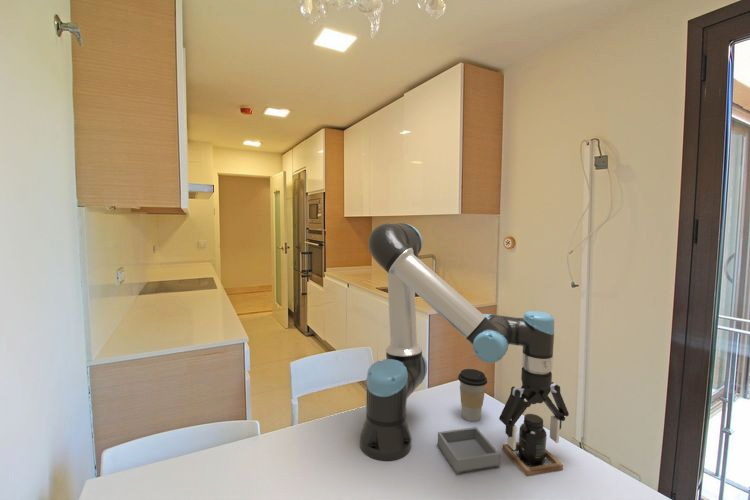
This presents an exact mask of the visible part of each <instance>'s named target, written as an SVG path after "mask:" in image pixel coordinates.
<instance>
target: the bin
mask: <svg viewBox="0 0 750 500" xmlns="http://www.w3.org/2000/svg"><path fill="white" fill-rule="evenodd" d="M437 447H438V448H439V450H440V451H441V453H442V455H443V456H444V457H445V460H446V462H448V463H449V466H450V467H451V468H452V470H453V471H454V473H455V474H456V476H458V475H464V474H470V473H477V472H482V471H488V470H494V469H495V470H496V469H499V468H500V459H501V458H500V457H501V453H500V451H498V450H497V449H496V447H494V446H493V444H492V443H490V441H489V440H488V439H487V438H486V436H485V435H484V434H483V433H482V432H481V431H480V430H479V428H478V427H476V426H475V427H468V428H460V429H459V428H458V429H452V430H445V431H438V432H437Z"/></svg>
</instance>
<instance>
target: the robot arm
mask: <svg viewBox="0 0 750 500" xmlns="http://www.w3.org/2000/svg"><path fill="white" fill-rule="evenodd" d="M370 232H371V233H370V234H369V236H368V241H367V245H368V246H367V247H368V251H369V254H370V255H371V257H372V259H374V261H375V262H376V263H377V264H378V265H379V266H380V267H381V268H382V269H383V270H385V272H387V273H386V275H387V292H388V293H387V295H388V296H387V297H388V317H389V319H388V321H389V322H388V323H389V336H390V337H389V338H390V339H389V340H390V344H389V345H388V346H387V347H386V348H385V355H386V358H385V359H382V360H377V361H375V362H373V363H372V364H371V365H370V366H369V368H368V370H367V374H366V379H365V380H366V381H365V382H366V383H365V384H366V400H365V401H366V405H365V406H366V410H365V411H366V413H365V414H366V416H365V420H364V423H363V425H362V428H361V432H360V435H359V446H360V449H361V450H362V452H363V453H365V455H367V456H369V457H370V458H371V459H375V460H380V461H395V460H399V459H400V458H403V457H405V456H406V455H408V453H409V452H410V450H411V449H412V434H411V431H410V429H409V425H408V421H407V401H408V398H410V396H411V395H412V394H413V393H414V392H415V391H416V390H417V388H418V387H419V386H420V385H421V384H422V383H423V381H424V380H425V377H426V375H427V373H428V364H427V363H428V362H427V360H426V357H425V356H424V355H423V349H422V347H421V346H420V345H419V344H418V339H417V338H418V335H417V334H418V333H417V316H416V315H417V314H416V294H417V295H418V297H420V298H421V299H422V300H423V301H424V302H425V303H426V304H428V306H429V307H431V309H432V310H434V312H436V313H437V314H438V315H439V316H441V318H443V319H444V320H445V321H446V322H447V323H448V324H450V325H451V327H453V328H454V329H455V330H456V331H457V332H458V333H459V334H460V335H461V336H463V337H464V338H465V339H466V340H467V341H468V342H469V343H470V344H471V345H472V348H473V352H474V354H475V356H476V357H477V358H478V359H479V360H481V361H482V362H485V363H488V364H489V363H490V364H493V363H497V362H499V361H501V360H502V359H503V358H504V356H506V354H507V351H508V350H509V349H508V348H509V346H510V345H514V346H521V347H522V354H521V366H522V367H521V378H520V379H521V384H522V385H521V387H520V388H519V387H518V388H517V387H515V386H514V385H513V386H511V388H510V394H509V396H508V398H507V400H506V403H505V405H504V406H503V409H502V411H501V413H500V416H499V418H498V419H499V421H500V422H501V423H503V425H505V435H506V436H507V442H506V444H508V445H509V446H510V447H511V448H512V449H513V450H512V451H517V450H516V442H517V430H518V429H517V428H518V426H517V425H516V423H517V422H518V420H519V419H520V418H521V416H522V415H523V414H524V413H525V411H526V410H527V408H530V407H531V406H532V405H536V404H543V403H544V404H545V406H546V407H547V408H548V409H549V411H550V412H551V413H552V415H550V418H549V419H550V420H549V421H550V422H549V438H550V439H551V440H552V441H553V442H554V443H556V444H559V442H560V430H561V429H562V422H565V421H566V417H569V416H570V415H569V410H568V409H567V406H566V403H565V401H564V398H563V396H562V394H561V386H560V385H558V384H557V383H555V382H553V381H552V380H553V373H552V370H553V363H554V362H553V359H554V358H553V357H554V343H555V340H554V339H555V318H554V316H553V315H552V314H550V313H548V312H544V311H537V310H534V311H533V310H529V311H526V312H525V313H524V314H523V317H514V316H507V315H499V314H494V313H482V312H481V311H480V310H479V309H477V308H476V307H475V306H474V305H472V304H471V302H469V301H468V300H467V299H466V298H464V297H463V295H461V294H460V293H459V292H458V291H456V289H454V288H453V287H452V286H451V285H449V284H448V283H447V282H446V281H445V280H444V279H443V278H442V277H440V276H439V275H438V274H437V273H436V272H435V271H433V270H432V269H431V268H429V267H428V265H426V264H425V263H424V262H423V261H422V260H421V259H419V254H420V252H421V250H422V248H423V238H422V235H421V233H420V231H419V230H418V229H417V228H416V227H414V226H413V225H411V224H409V223H405V222H404V223H402V222H399V223H390V222H389V223H388V222H387V223H382V224H380V225H378V226H376V227H375V228H374V229H373V230H372V231H370ZM550 393H551V395H552V398H553V400H554V402H553V401H552V399H551V398H550V397H549V394H550ZM554 403H555V404H554Z"/></svg>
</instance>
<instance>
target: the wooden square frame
mask: <svg viewBox="0 0 750 500" xmlns="http://www.w3.org/2000/svg"><path fill="white" fill-rule="evenodd" d="M501 447H502V451H503V452H504V453H505V454H506V455H507V456H508V458H510V460H511V461H512V462H513V463H514V464H515V465H516V466H517V468H519V469H520V471H521V472H522V473H523V474H524V475H525V476H526V477H530V476H531V477H532V476H536V475H543V474H547V473H548V474H549V473H553V472H554V473H555V472H561V471H563V469H564V464H563V463H562V462H561V461H559V459H557V458H556V457H555V456H554V455H553V454H552V453H551V452H550V451H548V449H546V453H545V459H547V460H548V462H550V463H548V464H544V465H541V466H535V467H532V466H529V467H528V465H526V464H525V463H523V462H522V461H521V460H520V458H519V456H518V455H517V454H515V452H514V450H513V449H512V448H511V447H510V446H509V445H508V444H507V443H504V444H502V446H501ZM518 448H519V441H516V450H515V451H517V450H518Z"/></svg>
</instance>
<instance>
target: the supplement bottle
mask: <svg viewBox="0 0 750 500" xmlns="http://www.w3.org/2000/svg"><path fill="white" fill-rule="evenodd" d="M523 417H524V418H523V423H522V424H521V425H520V426H519V433H518V442H519V448H518V451H517V453H518V454H517V457H518V458H519V459H520V460H521V461H522V462H523V463H524V464H525V465H526V466H529V467H535V466H541V465H545V461H546V457H545V453H546V450H547V449H546V448H547V438H548V437H547V436H548V433H547V431H546V429H545V428H544V419H543V418H542V417H541V416H539V415H538V414H533V413H526V414H525V415H524V416H523Z"/></svg>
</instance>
